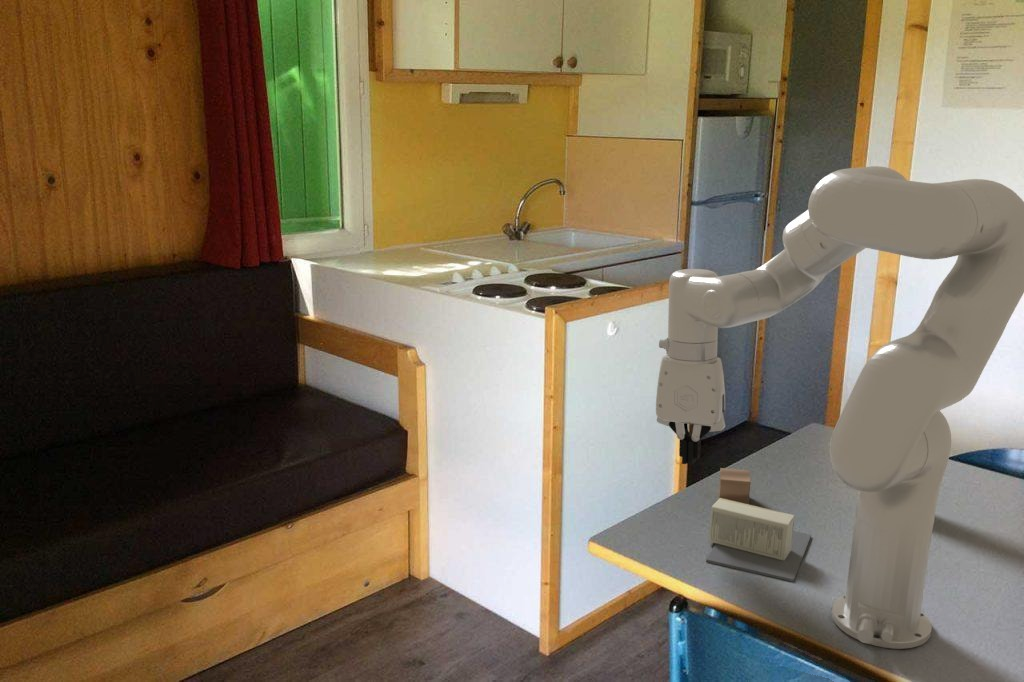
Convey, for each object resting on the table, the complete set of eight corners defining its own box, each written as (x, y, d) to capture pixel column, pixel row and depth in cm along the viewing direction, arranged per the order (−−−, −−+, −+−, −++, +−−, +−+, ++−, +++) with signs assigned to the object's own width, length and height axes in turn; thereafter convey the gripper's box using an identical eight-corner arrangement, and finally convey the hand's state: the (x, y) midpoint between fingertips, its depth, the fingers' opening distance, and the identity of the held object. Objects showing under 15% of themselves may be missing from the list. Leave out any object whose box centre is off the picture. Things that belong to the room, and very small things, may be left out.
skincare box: (716, 531, 150) (791, 551, 145) (707, 542, 147) (784, 562, 141) (719, 495, 149) (796, 514, 143) (710, 505, 145) (789, 525, 139)
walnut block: (748, 508, 160) (750, 481, 159) (718, 505, 161) (720, 479, 160) (747, 496, 165) (749, 470, 164) (718, 494, 166) (720, 468, 164)
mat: (793, 581, 136) (793, 579, 136) (706, 561, 141) (706, 559, 141) (810, 536, 150) (811, 534, 150) (730, 520, 155) (731, 518, 155)
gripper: (638, 350, 143) (637, 463, 147) (735, 359, 136) (731, 476, 141) (653, 340, 149) (651, 448, 154) (746, 348, 143) (742, 460, 147)
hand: (689, 461), depth 147 cm, fingers closed
